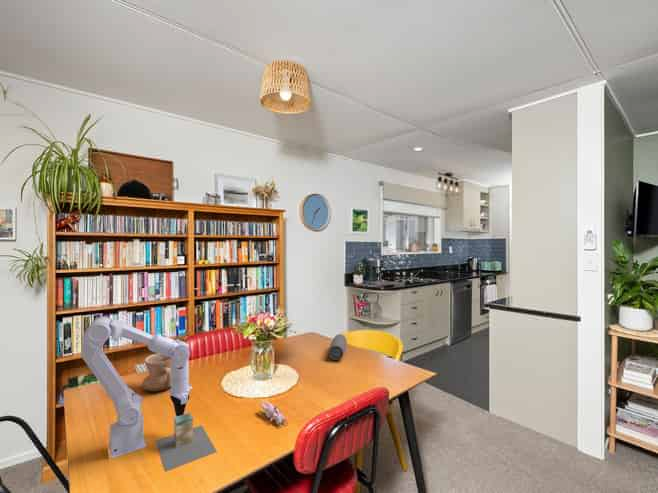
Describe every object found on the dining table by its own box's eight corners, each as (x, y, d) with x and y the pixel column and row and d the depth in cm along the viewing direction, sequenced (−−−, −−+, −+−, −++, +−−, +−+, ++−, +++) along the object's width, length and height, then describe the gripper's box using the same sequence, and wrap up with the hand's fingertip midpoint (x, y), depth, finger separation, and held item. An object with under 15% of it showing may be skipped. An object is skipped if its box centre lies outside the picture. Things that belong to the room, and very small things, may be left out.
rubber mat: (165, 473, 91) (165, 471, 91) (155, 441, 106) (155, 440, 106) (217, 453, 100) (217, 451, 100) (201, 426, 115) (201, 425, 115)
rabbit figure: (290, 426, 118) (269, 405, 129) (292, 412, 117) (270, 391, 128) (276, 433, 114) (255, 410, 124) (278, 418, 113) (257, 396, 123)
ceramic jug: (136, 386, 146) (136, 356, 145) (168, 376, 157) (168, 348, 156) (151, 400, 134) (151, 368, 133) (185, 388, 145) (185, 358, 144)
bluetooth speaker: (332, 348, 202) (333, 332, 202) (347, 349, 201) (347, 333, 201) (327, 361, 180) (328, 344, 179) (344, 362, 178) (344, 345, 178)
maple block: (176, 447, 102) (176, 422, 102) (174, 440, 106) (174, 417, 105) (192, 441, 105) (192, 417, 105) (189, 435, 109) (190, 412, 108)
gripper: (197, 381, 107) (197, 421, 107) (187, 368, 118) (186, 403, 118) (174, 387, 102) (174, 428, 103) (166, 372, 114) (166, 409, 114)
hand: (179, 415), depth 110 cm, fingers closed
